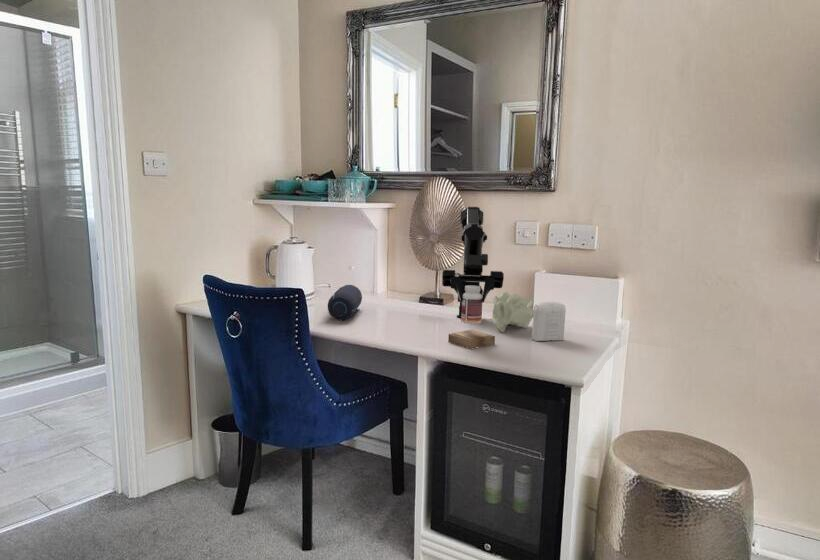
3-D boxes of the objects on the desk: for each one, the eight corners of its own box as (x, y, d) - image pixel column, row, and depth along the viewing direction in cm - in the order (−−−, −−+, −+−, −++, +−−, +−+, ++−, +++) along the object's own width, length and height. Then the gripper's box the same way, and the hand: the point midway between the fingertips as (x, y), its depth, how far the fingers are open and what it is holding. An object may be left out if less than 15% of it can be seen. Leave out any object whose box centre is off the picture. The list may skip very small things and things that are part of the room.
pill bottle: (485, 321, 173) (486, 286, 171) (475, 325, 168) (477, 289, 166) (467, 318, 176) (468, 283, 174) (457, 322, 171) (458, 286, 169)
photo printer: (559, 337, 182) (561, 299, 180) (565, 340, 178) (568, 302, 176) (529, 338, 179) (531, 300, 177) (535, 342, 175) (537, 303, 173)
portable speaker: (338, 307, 222) (338, 282, 220) (363, 308, 221) (363, 283, 220) (325, 322, 197) (325, 294, 195) (353, 323, 196) (353, 294, 195)
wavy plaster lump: (507, 342, 200) (511, 301, 205) (538, 340, 190) (541, 297, 195) (475, 329, 188) (480, 285, 193) (507, 326, 179) (511, 280, 184)
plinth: (471, 337, 180) (471, 328, 179) (494, 344, 172) (494, 335, 172) (448, 341, 174) (448, 333, 173) (471, 349, 166) (471, 340, 165)
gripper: (443, 243, 173) (441, 285, 164) (504, 245, 171) (505, 287, 162) (443, 265, 182) (441, 305, 173) (501, 267, 180) (502, 308, 171)
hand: (472, 301), depth 170 cm, fingers closed on pill bottle, 6 cm apart
